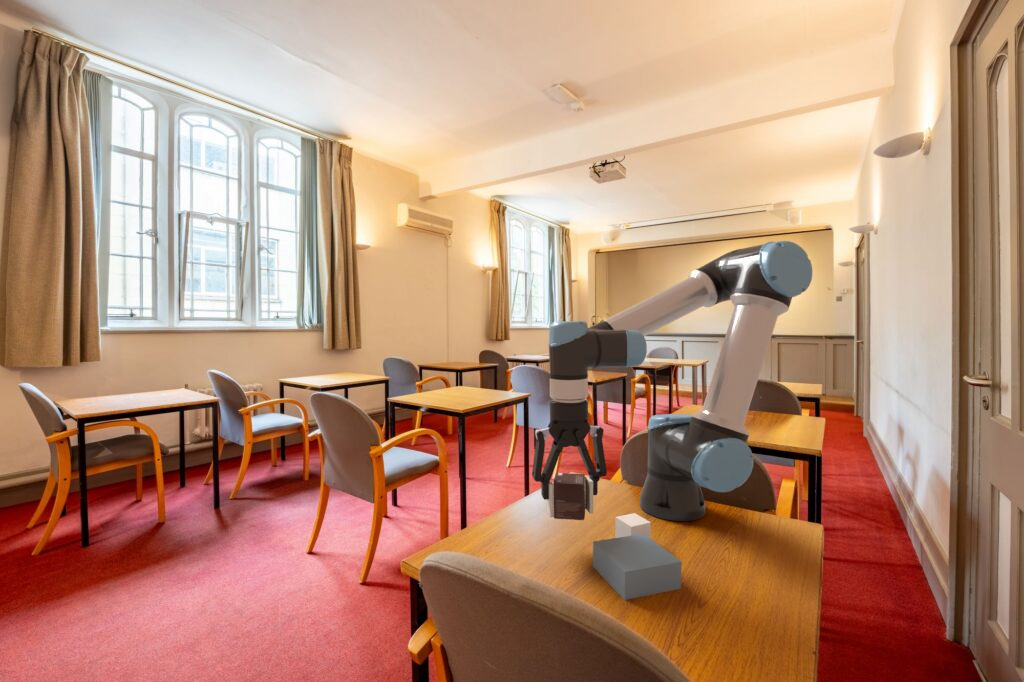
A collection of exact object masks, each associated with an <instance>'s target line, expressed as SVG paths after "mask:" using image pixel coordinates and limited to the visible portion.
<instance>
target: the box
mask: <svg viewBox="0 0 1024 682" xmlns="http://www.w3.org/2000/svg"><path fill="white" fill-rule="evenodd" d="M585 477H586V474H585V473H570V472H569V473H565V472H556V473H555V475H554V478H553V479H554V480H553V482H552V483H553V503H554V517H553V518H554V519H555V520H571V521H572V520H573V521H584V520H585V517H586V509H585Z"/></svg>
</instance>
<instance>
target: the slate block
mask: <svg viewBox="0 0 1024 682" xmlns="http://www.w3.org/2000/svg"><path fill="white" fill-rule="evenodd" d="M592 567H593V568H594V569H595V571H596V572H597V573H598V574H599V575H600V576H601V577H602V578H604V580H605V581H606V582H607V583H608V584H609V586H611V588H612V589H614V590H615V592H616V593H617V594H618V595H619V596H620V597H621V598H622V600H624V601H625V600H626V601H627V600H631V599H635V598H642V597H645V596H646V597H647V596H651V595H655V594H657V595H658V594H660V593H665V592H671V591H676V590H681V589H682V561H681V560H680V559H679V558H677V557H676V556H675V555H673V554H672V553H671V552H669V551H668V550H666V548H664V547H663V546H662V545H660V544H659V543H658V542H656V541H655V540H653V539H652V538H649V537H648V536H647V535H645V534H639V535H632V536H626V537H619V538H615V537H614V538H608V539H602V540H594V541H592Z"/></svg>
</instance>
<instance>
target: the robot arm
mask: <svg viewBox="0 0 1024 682" xmlns="http://www.w3.org/2000/svg"><path fill="white" fill-rule="evenodd" d="M808 256H809V255H808V253H807V252H806V250H804V248H803V247H802V246H800V245H799V244H797V243H795V242H793V241H790V240H781V241H780V240H779V241H768V242H766V243H763V244H758V245H754V246H753V245H752V246H748V247H745V248H744V247H743V248H737V249H734V250H731V251H729V252H727V253H725V254H723V255H721V256H719V257H716V258H715V259H713V260H712V261H709V262H707V263H705V264H703V265H702V266H700V267H698V268H696V269H695V270H693V271H691V272H689V274H688V276H687V278H686V279H684V280H681V281H679V282H678V283H676V284H674V285H671V286H670V287H668V288H666V289H664V290H662V291H659V292H657V293H656V294H654V295H653V296H650V297H648V298H646V299H644V300H642V301H640V302H638V303H635V304H634V305H631V306H630V307H628V308H626V309H624V310H622V311H619V312H618V313H616V314H613V315H612V316H609V317H608V318H606V319H604V320H602V321H600V322H598V323H596V324H594V325H592V326H590V327H588V323H587V322H586V321H584V320H578V321H577V320H575V321H573V320H572V321H571V320H570V321H564V320H562V321H553V322H552V323H551V324H550V325H549V333H548V345H547V346H548V357H549V397H550V398H551V400H550V401H549V423H548V425H547V427H545V428H542V429H540V428H535V430H534V436H535V447H534V454H533V455H534V457H533V463H532V472H531V476H532V478H533V479H534V481H535V482H536V483H537V482H539V483H541V485H540V486H541V488H540V489H541V492H540V493H541V497H542V498H543V500H544V501H546V503H545V504H546V513H547V515H548V516H549V518H554V495H553V488H554V487H553V482H552V481H551V479H552V477H553V473H554V471H555V468H556V465H557V463H558V460H559V458H560V455H561V453H562V452H563V450H564V448H568V447H574V448H575V447H577V449H578V452H579V454H580V457H581V459H582V461H583V465H584V467H585V469H586V471H587V474H588V476H585V511H587V512H588V513H589V514H594V496H597V495H598V490H599V488H598V482H599V481H600V480H601V477H606V476H607V475H608V473H607V465H606V458H605V450H604V444H603V437H604V429H603V428H602V427H601V426H600V425H598V424H595V425H591V424H590V423H589V401H588V400H587V398H588V397H589V385H588V384H589V382H588V381H589V378H588V377H589V374H588V372H589V369H599V368H602V369H603V368H605V369H606V368H627V369H628V368H632V367H638V366H641V365H642V364H644V362H645V360H646V357H647V347H648V346H647V345H648V344H647V341H646V336H648V335H649V334H651V333H653V332H655V331H657V330H659V329H661V328H663V327H665V326H668V325H670V324H671V323H673V322H675V321H677V320H679V319H681V318H683V317H684V316H686V315H688V314H690V313H693V312H694V311H696V310H699V309H700V308H702V307H705V308H712V307H713V306H716V305H717V304H720V303H723V302H726V301H727V302H728V301H731V303H732V304H733V307H734V308H733V311H732V314H731V318H730V321H729V323H728V327H727V331H726V334H725V336H724V338H723V343H722V346H721V349H720V352H719V355H718V359H717V361H716V364H715V368H714V371H713V374H712V376H711V380H710V384H709V386H708V389H707V394H706V396H705V399H704V402H703V405H702V408H701V410H700V411H698V412H696V413H694V414H685V413H684V414H683V413H682V414H681V413H666V414H665V413H663V414H661V413H660V414H655V415H651V416H650V417H649V419H648V427H647V475H646V477H645V480H644V483H643V486H642V488H641V491H640V493H639V508H640V509H641V510H642V511H644V512H645V513H647V514H648V515H651V516H653V517H656V518H659V519H662V520H667V521H675V522H689V521H691V522H692V521H697V520H700V519H702V518H704V517H705V515H706V502H705V501H706V500H705V499H704V494H703V492H702V489H701V487H702V488H706V489H708V490H710V491H712V492H716V493H728V492H731V491H734V490H735V489H736V488H740V487H741V486H743V484H744V483H745V482H747V481H748V479H749V477H750V476H751V474H752V471H753V468H754V456H753V455H752V450H751V448H750V447H749V445H748V444H747V443H748V440H749V436H750V432H749V431H748V429H747V427H746V426H745V422H746V418H747V415H748V412H749V409H750V406H751V403H752V399H753V396H754V393H755V390H756V387H757V384H758V382H759V381H758V380H759V378H760V374H761V371H762V368H763V365H764V362H765V358H766V355H767V352H768V349H769V345H770V343H771V340H772V336H773V334H774V331H775V328H776V327H775V326H776V323H777V320H778V318H779V316H781V315H783V314H785V313H787V312H788V311H789V310H790V306H791V303H792V299H793V298H796V297H797V296H800V295H802V293H804V292H806V291H807V290H808V289H809V287H810V285H811V282H812V280H813V279H812V278H813V264H812V261H811V259H809V257H808ZM589 433H590V436H591V439H592V444H593V445H592V446H593V452H594V458H595V459H594V461H595V465H594V462H593V460H592V458H591V455H590V453H589V450H588V447H587V444H586V442H585V439H586V438H587V436H588V434H589ZM549 435H550V436H551V438H553V439H552V440H553V441H552V444H551V448H550V451H549V454H548V456H547V459H546V462H545V465H544V467H543V463H544V454H545V449H546V448H545V447H546V441H547V439H548V436H549ZM595 466H596V468H595Z"/></svg>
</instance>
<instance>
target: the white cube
mask: <svg viewBox="0 0 1024 682" xmlns="http://www.w3.org/2000/svg"><path fill="white" fill-rule="evenodd" d="M614 521H615V525H614V526H615V527H614V529H615V530H614V531H615V532H614V538H619V537H626V536H632V535H639V534H645V535H647V536H648V537H649V538H651V536H652V533H651V532H652V528H651V527H652V526H651V525H652V521H649V520H648V519H646V518H644V517H643V516H640V515H639V514H637V513H635V512H634V513H629V514H624V515H619V516H618V515H617V516H615V520H614ZM651 539H652V538H651Z"/></svg>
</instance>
